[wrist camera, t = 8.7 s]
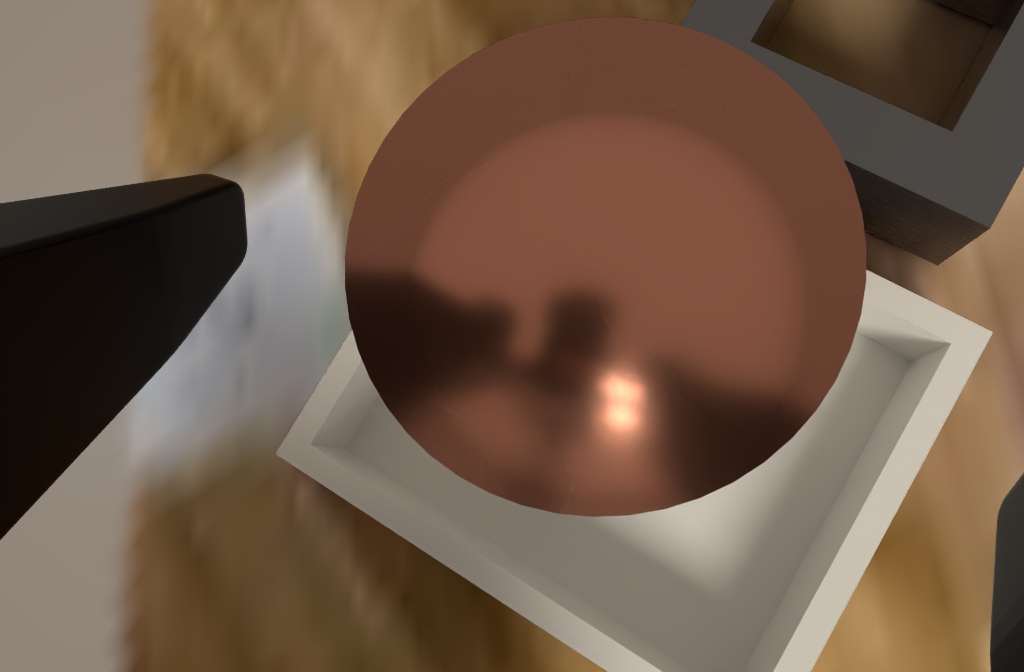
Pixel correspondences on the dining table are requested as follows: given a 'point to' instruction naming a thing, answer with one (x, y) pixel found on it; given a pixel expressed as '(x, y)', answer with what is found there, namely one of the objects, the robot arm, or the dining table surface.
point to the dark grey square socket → (909, 128)
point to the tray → (676, 510)
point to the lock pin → (605, 266)
